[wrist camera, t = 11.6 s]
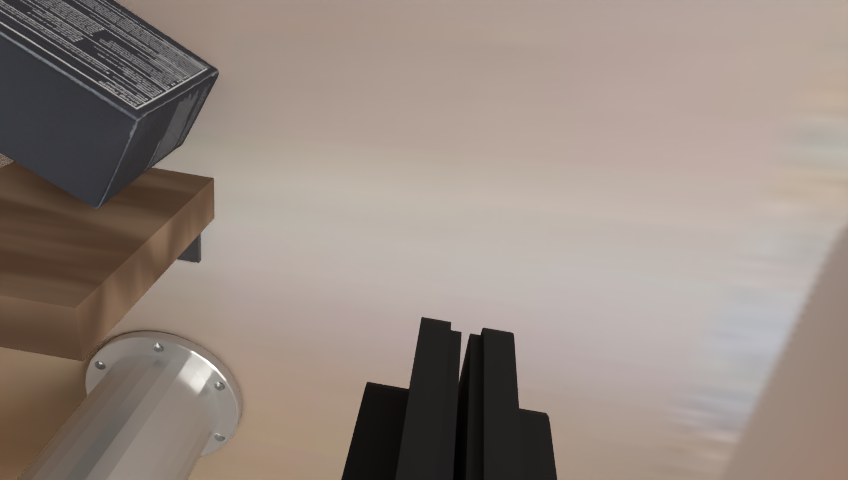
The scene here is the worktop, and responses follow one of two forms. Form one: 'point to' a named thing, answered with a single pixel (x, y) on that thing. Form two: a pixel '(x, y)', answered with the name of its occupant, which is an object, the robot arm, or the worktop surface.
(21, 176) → the walnut block
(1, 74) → the small box
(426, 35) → the worktop surface
